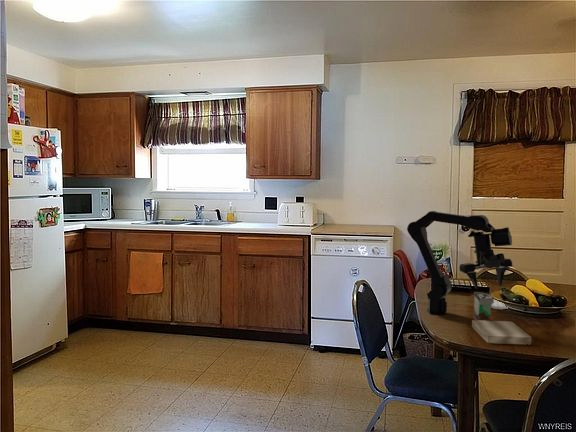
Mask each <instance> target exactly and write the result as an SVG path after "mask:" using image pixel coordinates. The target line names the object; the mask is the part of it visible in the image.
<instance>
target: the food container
mask: <svg viewBox="0 0 576 432" xmlns="http://www.w3.org/2000/svg"><path fill="white" fill-rule="evenodd" d="M473 297H474V298H473V318H474V320H482V321H491V316H492V315H491V314H492V309H491V308H492V303H494V297H493V295H492V294H489V293H486V292H479V291H474V292H473Z"/></svg>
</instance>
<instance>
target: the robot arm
mask: <svg viewBox="0 0 576 432" xmlns="http://www.w3.org/2000/svg"><path fill="white" fill-rule="evenodd" d="M489 221H490V220H489V218H488V217H487V216H485V215H483V214H472V215H471V214H470V215H462V214H455V213H446V212H441V211H436V210H431V211H428V212H427V213H425V215H423V216H422V217H420V218H419V219H417V220H415V221H412V222H410V223H408V225H407V228H406V231H407V233H408V234H409V236H410V238H411V239H412V240H413V241H414V242H415V243H416V245H417V247H418V249H419V251H420V254H421V257H422V258H423V261H424V263H425V265H426V267H427V270H428V272H429V275H430V283H431V284H430V285H431V287H432V288H431V290H430V291H429V292H428V293H426V296H427V299H428V304H427V305H428V306H427V310H426V311H427V312H428V313H429V315H447V310H448V309H447V307H448V305H447V304H448V302H447V300H446V296H447V294H448V293H450V292H451V290H452V284H453V282H452V281H451V280H450V277H449V274H445V273H444V272H442V270H441V268H440V265H439V263H438V261H437V259H436V256H435V254H434V252H433V249H432V247H431V245H430V243H429V240H428V231H427V228H428V227H429V226H430V225H431V224H433V223H434V222H437V223H438V222H439V223H446V224H453V225H459V226H463V227H465V228H468V229H470V230H471V232H469V234H467V237H468V238H473V241H474V247H475V248H474V249H475V250H474V251H473V253H474V254H475V256H476V260H475V264H474V263H471V262H467V263H466V262H465V263H460V265H459V272H462V273H463V274H466V276H467V277H468V278H469V279H470V281H471V284H473V287H474V288H475V289H476V290H478V289H479V286H478V285H479V284H478V279H477V271H475V270H478V269H486V268H488V269H493V268H495V273H496V279H497V283H498V286H499V287H501V286H502V284H503V279H504V276H505V274H506V271H508V270H510V267H513V261H512V259H511V258H507V257H506V258H505V254H504V253H497V254H495V252H494V249H492V245H494V247H507V246H512V244H513V237H512V234H511V231H510V228H509V227H507V226H506V227H503V228H496V227H494V226H493V225H492V224H491V223H490V222H489Z"/></svg>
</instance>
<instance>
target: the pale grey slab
mask: <svg viewBox="0 0 576 432" xmlns="http://www.w3.org/2000/svg"><path fill="white" fill-rule="evenodd" d="M471 328H472V329H474V330H475V332H476V333H478V335H479V336H480V337H481V338H482V339H483V340H484V341H485V342H486V343H487V344H503V345H505V344H507V345H527V344H528V345H531V346H532V336H531V335H529V334H528V333H526V332H525V331H524V330H523V329H522V328H520V327H519V326H518V325H517V324H515V323H514V322H512V321H507V320H490V321H482V320H475V319H472V320H471Z"/></svg>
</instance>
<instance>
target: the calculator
mask: <svg viewBox="0 0 576 432" xmlns="http://www.w3.org/2000/svg"><path fill="white" fill-rule="evenodd" d="M493 299H494V298H493ZM495 299H496V298H495ZM495 299H494V303H492V308H493V310H503V309H508V307H506V306H505V304H504V303H502V302H499V301H497V300H498V299H497V300H495Z"/></svg>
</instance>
